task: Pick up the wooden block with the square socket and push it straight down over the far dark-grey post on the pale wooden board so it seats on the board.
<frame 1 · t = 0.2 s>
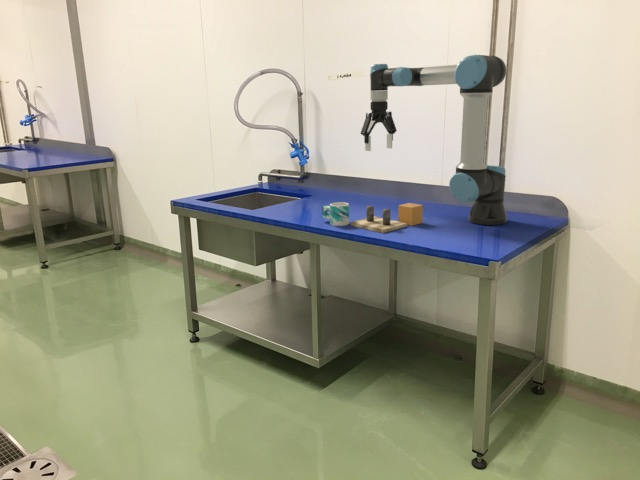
hand: (378, 149, 241), 28 cm above the table, fingers open, 13 cm apart
mug: (335, 223, 225), on the table
board: (378, 226, 217), on the table
wooden block: (410, 222, 221), on the table
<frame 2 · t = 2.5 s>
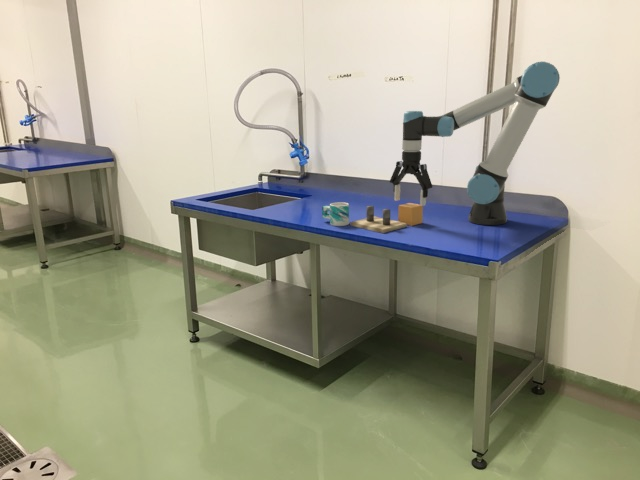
hand: (409, 202, 219), 8 cm above the table, fingers open, 13 cm apart
nothing on the table moved.
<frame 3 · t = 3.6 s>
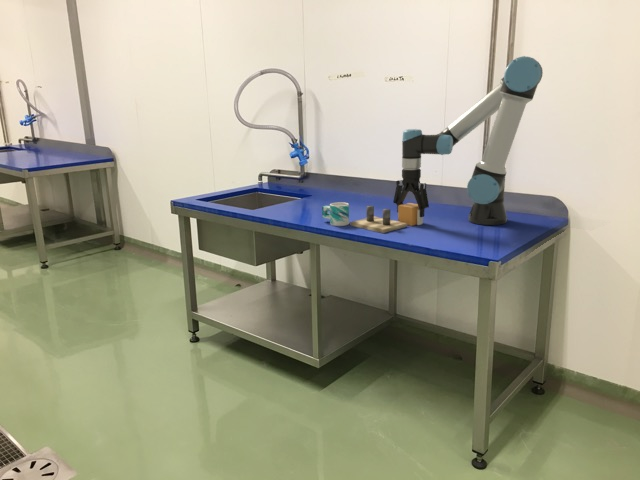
hand: (410, 222, 221), 0 cm above the table, fingers open, 9 cm apart
nothing on the table moved.
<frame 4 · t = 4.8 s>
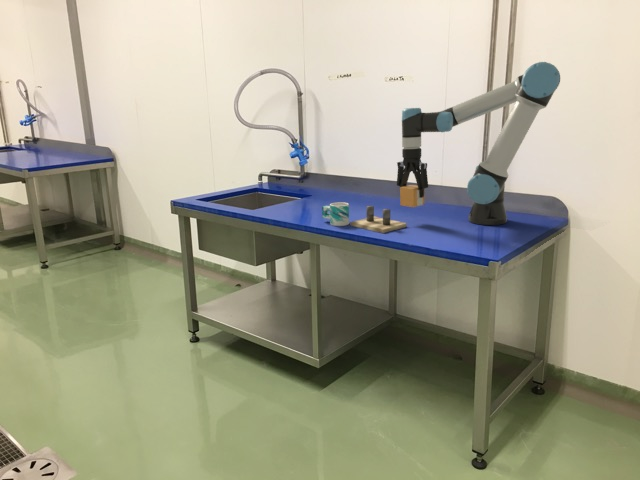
hand: (412, 204, 219), 8 cm above the table, fingers closed on wooden block, 7 cm apart
wooden block: (412, 204, 219), point 8 cm above the table, touching gripper
everything else where it was.
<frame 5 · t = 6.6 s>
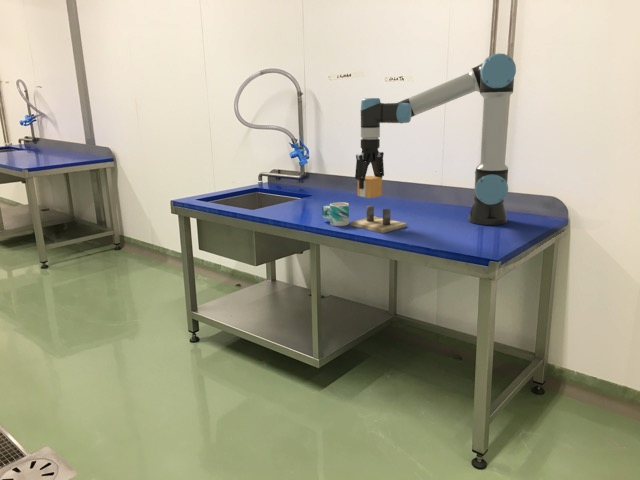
hand: (369, 195, 218), 12 cm above the table, fingers closed on wooden block, 7 cm apart
wooden block: (369, 195, 218), point 12 cm above the table, touching gripper
everything else where it was.
when the fingers open (3 cm above the table, at t = 8.5 s): wooden block drops 1 cm, resting on board.
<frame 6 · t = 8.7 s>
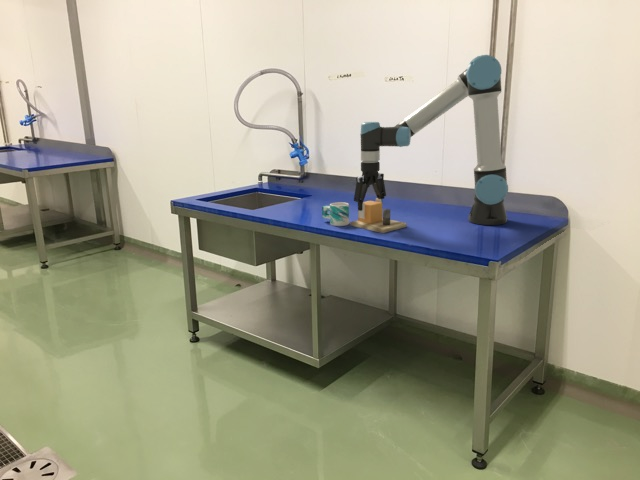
hand: (370, 216, 220), 4 cm above the table, fingers open, 9 cm apart
wooden block: (370, 220, 220), point 1 cm above the table, touching board
everything else where it was.
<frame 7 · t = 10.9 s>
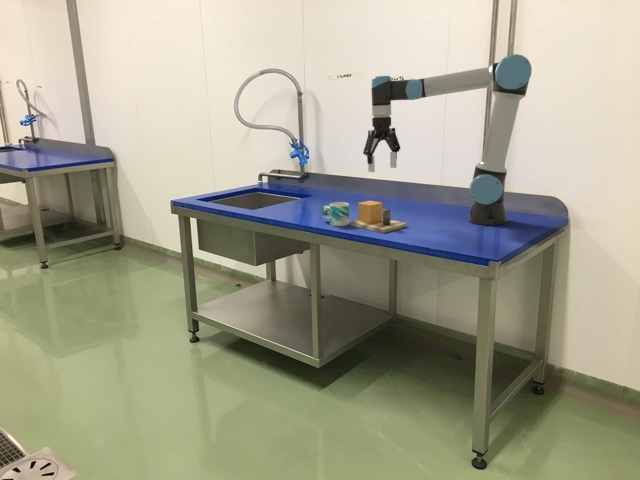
hand: (382, 169, 218), 22 cm above the table, fingers open, 13 cm apart
nothing on the table moved.
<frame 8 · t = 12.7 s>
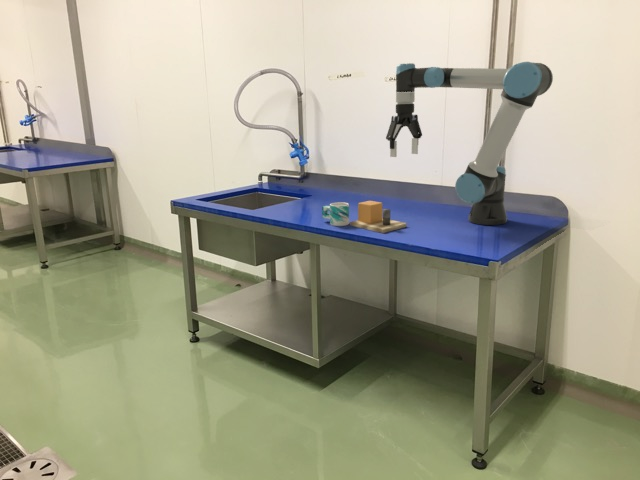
hand: (404, 155, 224), 27 cm above the table, fingers open, 13 cm apart
nothing on the table moved.
at the end: wooden block 0.0 cm from the target spot on the board, point 1.5 cm above the board's base; wooden block tilted 0°; the gripper is holding nothing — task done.
